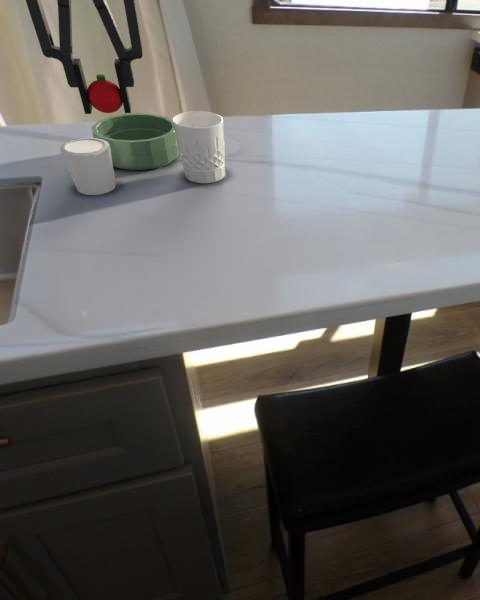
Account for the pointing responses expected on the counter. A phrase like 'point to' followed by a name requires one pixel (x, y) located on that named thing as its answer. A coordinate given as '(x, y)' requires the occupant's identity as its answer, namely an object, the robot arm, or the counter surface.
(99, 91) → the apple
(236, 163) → the counter surface
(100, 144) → the white cylinder
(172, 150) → the bowl
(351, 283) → the counter surface
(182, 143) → the white cup
